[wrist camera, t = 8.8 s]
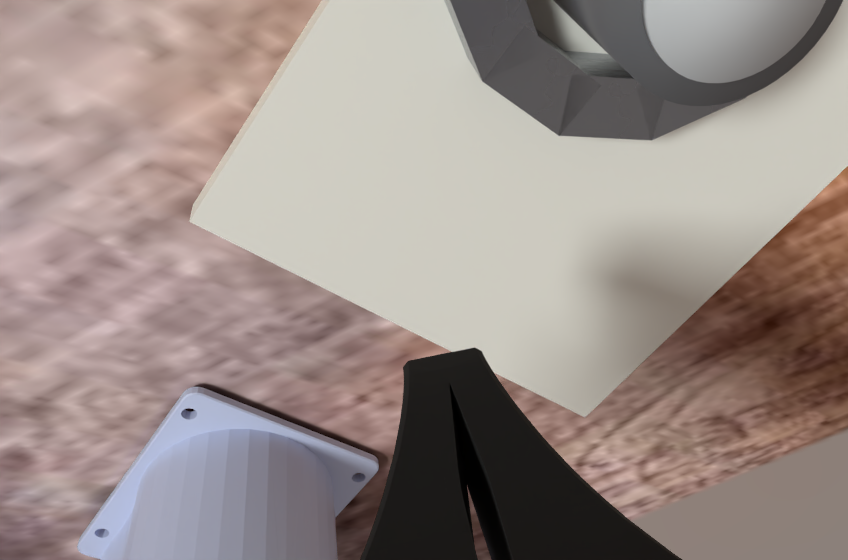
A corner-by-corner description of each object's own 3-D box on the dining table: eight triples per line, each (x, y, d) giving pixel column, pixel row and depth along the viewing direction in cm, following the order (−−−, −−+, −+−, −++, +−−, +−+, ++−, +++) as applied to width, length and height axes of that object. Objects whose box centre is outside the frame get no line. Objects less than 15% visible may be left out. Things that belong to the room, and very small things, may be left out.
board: (576, 399, 29) (585, 417, 28) (192, 204, 22) (189, 221, 21) (1043, -59, 22) (1073, -52, 21) (680, -570, 15) (704, -589, 14)
